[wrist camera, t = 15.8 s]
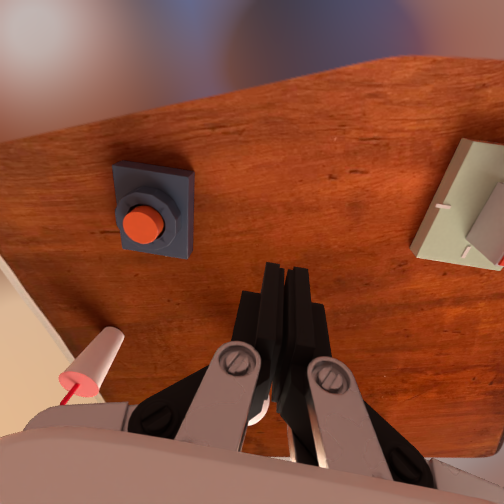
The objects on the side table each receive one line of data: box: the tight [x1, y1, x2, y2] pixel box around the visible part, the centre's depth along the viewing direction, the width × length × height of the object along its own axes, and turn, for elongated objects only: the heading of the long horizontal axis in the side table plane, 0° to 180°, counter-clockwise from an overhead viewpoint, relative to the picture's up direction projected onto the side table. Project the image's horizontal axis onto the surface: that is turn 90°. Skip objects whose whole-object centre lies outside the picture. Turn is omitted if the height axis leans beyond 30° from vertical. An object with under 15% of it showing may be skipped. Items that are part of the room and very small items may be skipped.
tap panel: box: [410, 138, 504, 271], centre depth 29 cm, size 12×10×2 cm
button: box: [123, 205, 164, 244], centre depth 30 cm, size 4×4×2 cm
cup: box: [59, 327, 124, 405], centre depth 41 cm, size 5×5×12 cm
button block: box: [112, 160, 194, 259], centre depth 32 cm, size 10×8×4 cm
